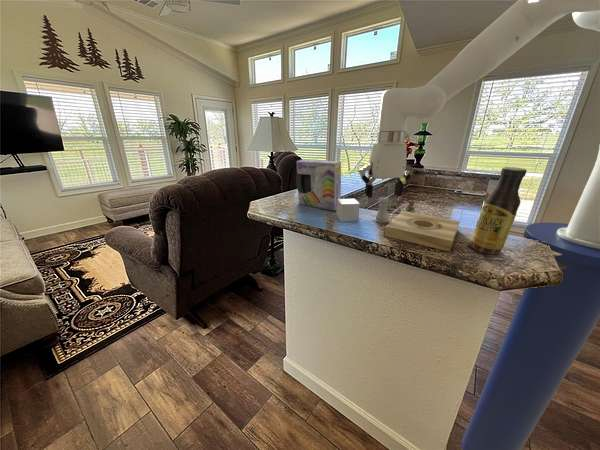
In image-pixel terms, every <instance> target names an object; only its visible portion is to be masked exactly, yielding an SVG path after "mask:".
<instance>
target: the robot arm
mask: <svg viewBox="0 0 600 450" xmlns="http://www.w3.org/2000/svg"><path fill="white" fill-rule="evenodd" d="M568 14H572V20H573V22H574V23H575V24H576V26H578V27H579V28H582V29H586V30H592V31H596V32H600V0H516V1H515V2H514V3H513V4H512V5H511V6H510V7H509V8H508V9H507V10H505V11H504V12H503V13H502V14H501V15H500V16H499V17H497V18H496V19H495V20H494V21H492V23H491V24H490V25H488V26H487V27H486V28H485V29H484V30H483V31H481V32H480V33H479V34H478V35H477V36H476V37H474V39H472V40H471V41H470V42H469V43H468V44H467V45H466V46H465V47H464V48H463V49H462V50H461V51H459V53H457V55H456V56H455V57H454V58H453V59H452V60H451V61H450V62H449V63H448V64H447V65H446V66H445V67H444V68H442V70H441V71H439V72H438V73H437V74H436V75H435V76H434V77H432V79H430V80H429V81H428V82H427V83H426V84H424V85H421V86H417V87H409V88H407V87H394V88H388V89H386V90H385V91H383V93H382V95H381V101H380V111H379V119H378V128H377V138H376V142H374V143H373V144H372V148H371V152H370V155H369V160H368V164H366V165H365V166H363V167H361V168H359V169H358V175H359V176H360V179H361V180H362V181H363V182H364V184H365V187H364V188H365V189H364V195H365V196H366V197H367V198H368V199H372V197H373V189H374V185H373V183H374V182H375V181H376V180H377V179H379V180H380V179H382V180H383V179H396V180H397V181H396V182H395V187H394V195H395V196H397V197H402V195H403V192H404V187H405V184H406V183H407V181H409V179H411V178H412V177H411V176H412V175H413V173H414V172H415V168H414V167H412V166H411V165H409V164H407V157H408V156H407V155H408V154H407V153H408V151H407V143H405V142H406V140H407V139H410V133H407V128H408V121H409V117H411V118H414V119H416V120H417V119H418V120H423V119H429V118H432V117H434V116H436V115H437V114H439V113H440V112H441V111H442V109H443V108H444V106H445V104H446V102H448V101H449V100H450V99H452V98H453V97H454V96H456V95H457V94H458V93H460V92H461V91H462V90H464V89H465V88H466V87H469V86H470V85H472V84H473V83H475V82H477V81H479V80H480V79H482V78H484V77H485V76H487V75H489V74H490V73H491V72H492V71H494V70H496V69H497V68H498V67H499V66H500V65H502V64H503V63H504V62H505V61H506V60H508V59H509V58H511V56H513V55H514V54H515V53H517V52H518V51H519V50H520V49H522V48H523V47H524V46H525V45H526V44H528V43H529V42H531V41H532V40H533V39H534V38H536V37H537V36H538V35H540V33H542V32H543V31H544V30H546V29H547V28H548V27H549V26H551V25H552V24H554V23H555V22H557V21H558V20H560V19H562V18H563V17H565V16H567V15H568ZM366 172H367V175H368V176H367V175H366ZM405 172H406V173H405ZM569 220H570V221H569V223H568V224H569V225H568V227H566V228H560V229H558V230H557V232H556V234H557V235H558V236H559V237H561V238H562V239H565V240H567V241H570V242H572V243H575V244H579V245H582V246H586V247H591V248H596V249H600V145H599V148H598V152H597V157H596V160H595V163H594V166H593V168H592V171H591V172H590V176H589V178H588V180H587V182H586V184H585V186H584V189H583V191H582V193H581V194H580V198H579V200H578V202H577V205H576V206H575V209H574V211H573V214H572V215H571V218H570V219H569Z"/></svg>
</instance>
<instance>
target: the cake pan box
mask: <svg viewBox="0 0 600 450" xmlns="http://www.w3.org/2000/svg"><path fill="white" fill-rule="evenodd" d="M295 163H296V176H295V185H296V190H297V192H298V196H297V197H298V204H300V205H304V206H309V207H314V208H318V209H323V210H329V211H334V212H335V211H337V199H342V161H335V160H333V161H332V160H324V159H307V158H306V159H299V160H296V162H295Z"/></svg>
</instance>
